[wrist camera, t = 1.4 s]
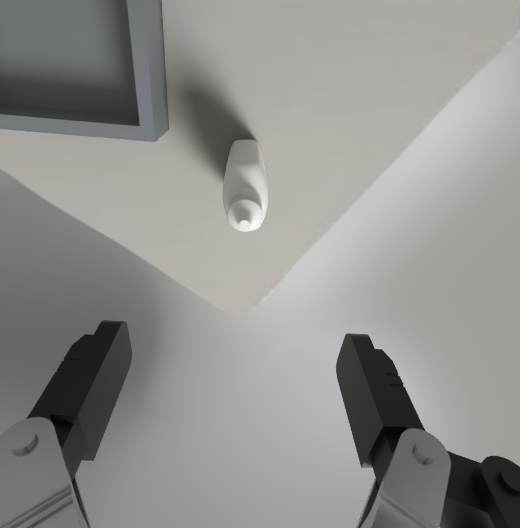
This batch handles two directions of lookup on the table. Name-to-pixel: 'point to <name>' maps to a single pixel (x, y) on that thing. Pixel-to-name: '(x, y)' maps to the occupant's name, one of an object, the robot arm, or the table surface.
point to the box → (83, 68)
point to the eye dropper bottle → (245, 186)
